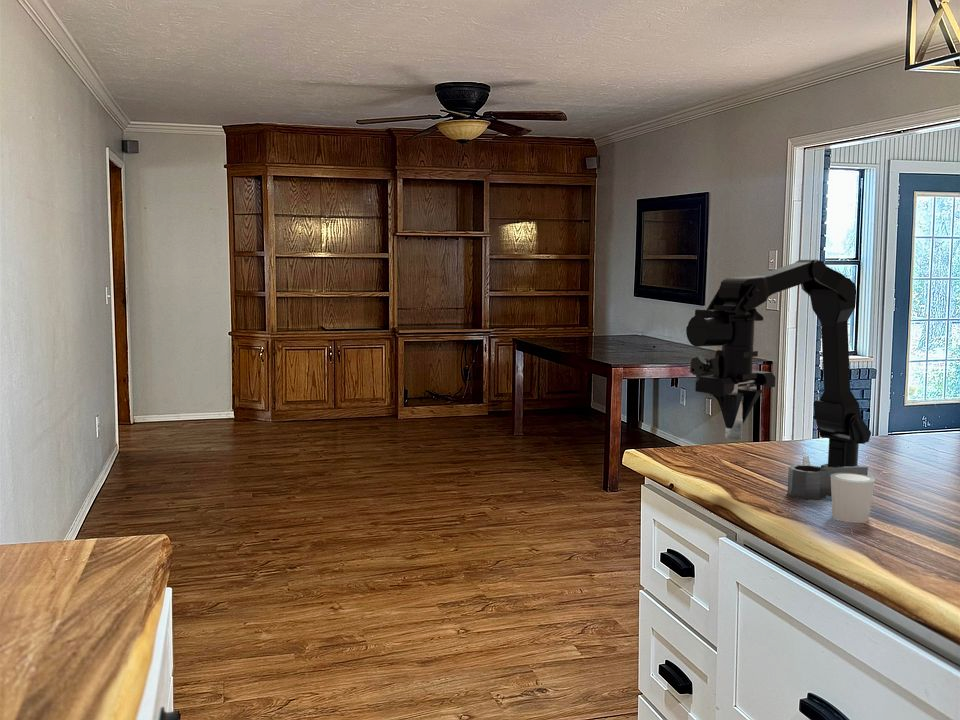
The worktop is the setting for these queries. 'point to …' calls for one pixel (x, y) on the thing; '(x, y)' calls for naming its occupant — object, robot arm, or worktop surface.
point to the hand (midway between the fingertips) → (734, 427)
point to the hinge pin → (736, 425)
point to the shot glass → (851, 497)
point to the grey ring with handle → (815, 479)
